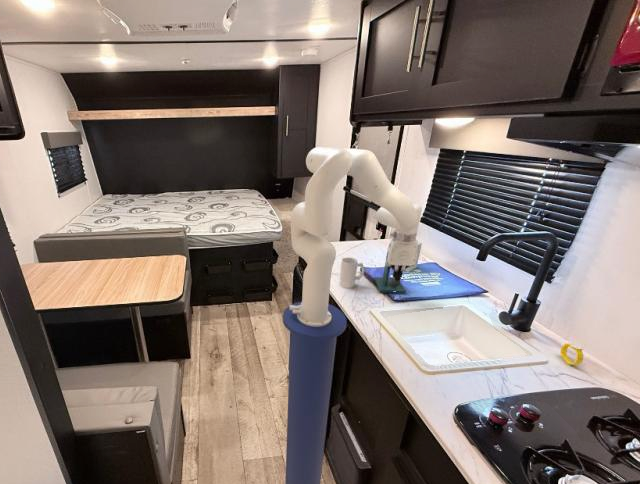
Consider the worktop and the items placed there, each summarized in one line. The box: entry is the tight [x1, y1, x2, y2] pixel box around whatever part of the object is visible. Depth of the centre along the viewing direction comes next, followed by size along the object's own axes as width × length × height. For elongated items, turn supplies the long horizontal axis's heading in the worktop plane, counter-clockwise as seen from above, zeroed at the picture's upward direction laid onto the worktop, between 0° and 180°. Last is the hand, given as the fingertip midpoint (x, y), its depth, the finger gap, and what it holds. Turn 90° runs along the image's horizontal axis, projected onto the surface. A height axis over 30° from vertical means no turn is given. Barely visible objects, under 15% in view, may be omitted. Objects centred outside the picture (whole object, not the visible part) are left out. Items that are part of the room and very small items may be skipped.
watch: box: [560, 342, 584, 366], centre depth 91 cm, size 6×3×6 cm, turn 169°
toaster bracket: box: [373, 264, 406, 295], centre depth 134 cm, size 12×10×13 cm
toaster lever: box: [390, 266, 401, 286], centre depth 130 cm, size 12×3×3 cm
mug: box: [339, 256, 365, 289], centre depth 137 cm, size 10×7×12 cm, turn 82°
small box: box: [403, 241, 423, 273], centre depth 150 cm, size 8×6×13 cm
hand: (396, 278), depth 127 cm, fingers closed
